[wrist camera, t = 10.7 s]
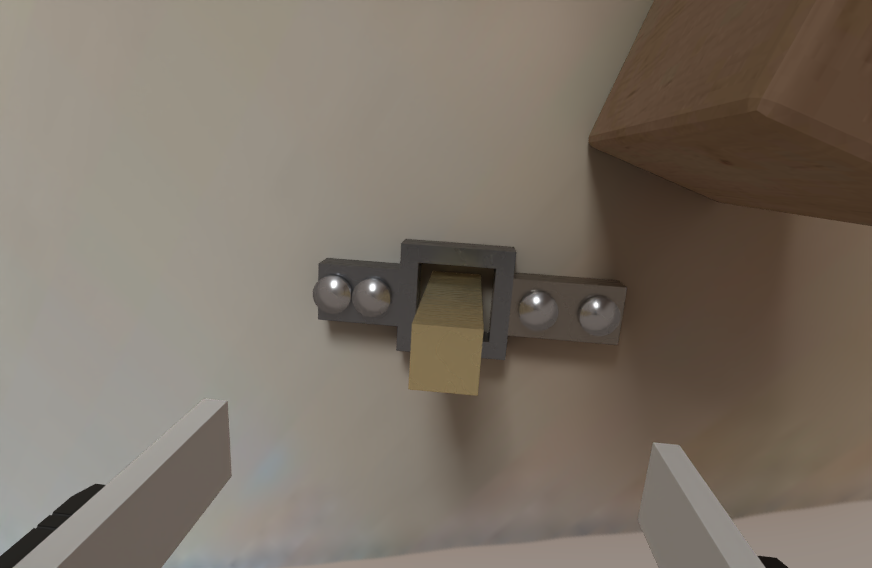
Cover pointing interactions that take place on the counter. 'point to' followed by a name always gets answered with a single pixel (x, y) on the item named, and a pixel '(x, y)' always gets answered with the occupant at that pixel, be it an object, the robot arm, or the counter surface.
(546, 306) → the ball-studded metal bracket
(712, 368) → the counter surface
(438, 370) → the pin
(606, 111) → the wooden block
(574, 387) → the counter surface
